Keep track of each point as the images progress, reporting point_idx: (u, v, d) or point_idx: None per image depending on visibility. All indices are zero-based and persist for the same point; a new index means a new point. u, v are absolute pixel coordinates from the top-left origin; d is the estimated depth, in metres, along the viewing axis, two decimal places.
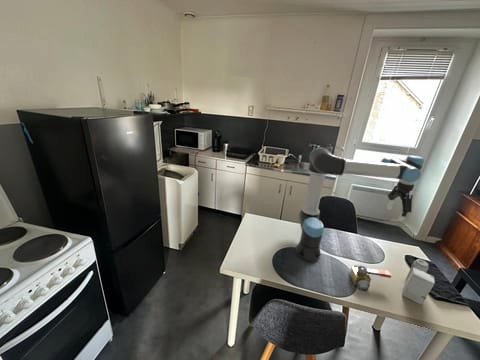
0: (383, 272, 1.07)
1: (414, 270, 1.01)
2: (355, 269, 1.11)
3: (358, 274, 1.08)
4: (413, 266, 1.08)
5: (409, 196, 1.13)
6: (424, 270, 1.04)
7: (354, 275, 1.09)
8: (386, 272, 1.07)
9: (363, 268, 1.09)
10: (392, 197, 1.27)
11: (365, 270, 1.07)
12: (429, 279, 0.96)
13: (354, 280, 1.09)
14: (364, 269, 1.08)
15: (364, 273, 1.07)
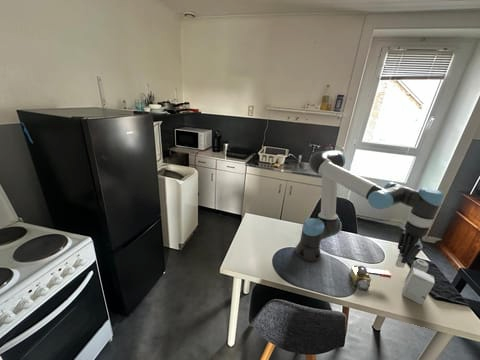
0: (383, 272, 1.07)
1: (414, 270, 1.01)
2: (355, 269, 1.11)
3: (358, 274, 1.08)
4: (413, 266, 1.08)
5: (419, 248, 0.84)
6: (424, 270, 1.04)
7: (354, 275, 1.09)
8: (386, 272, 1.07)
9: (363, 268, 1.09)
10: (403, 247, 0.92)
11: (365, 270, 1.07)
12: (429, 279, 0.96)
13: (354, 280, 1.09)
14: (364, 269, 1.08)
15: (364, 273, 1.07)
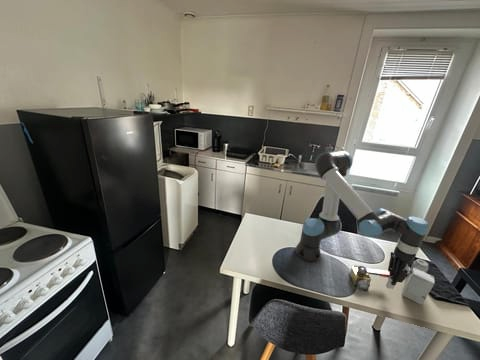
0: (383, 272, 1.07)
1: (414, 270, 1.01)
2: (355, 269, 1.11)
3: (358, 274, 1.08)
4: (413, 266, 1.08)
5: (407, 273, 0.89)
6: (424, 270, 1.04)
7: (354, 275, 1.09)
8: (386, 272, 1.07)
9: (363, 268, 1.09)
10: (393, 271, 0.98)
11: (365, 270, 1.07)
12: (429, 279, 0.96)
13: (354, 280, 1.09)
14: (364, 269, 1.08)
15: (364, 273, 1.07)
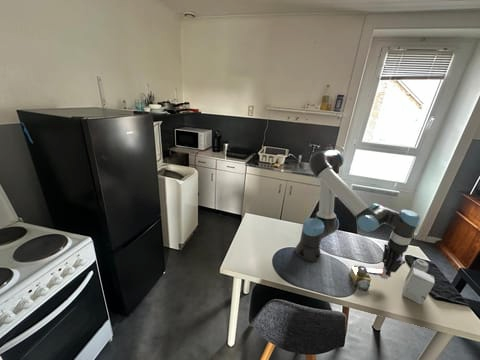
0: None
1: (414, 270, 1.01)
2: (355, 269, 1.11)
3: (358, 274, 1.08)
4: (413, 266, 1.08)
5: (400, 263, 0.95)
6: (424, 270, 1.04)
7: (354, 275, 1.09)
8: None
9: (363, 268, 1.09)
10: (387, 262, 1.03)
11: (365, 270, 1.07)
12: (429, 279, 0.96)
13: (354, 280, 1.09)
14: (364, 269, 1.08)
15: (364, 273, 1.07)
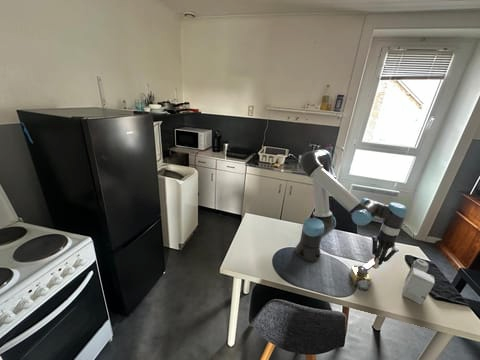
0: (373, 262, 1.13)
1: (414, 270, 1.01)
2: (355, 269, 1.11)
3: (358, 274, 1.08)
4: (413, 266, 1.08)
5: (395, 252, 1.01)
6: (424, 270, 1.04)
7: (354, 275, 1.09)
8: None
9: (362, 268, 1.09)
10: (378, 253, 1.09)
11: (365, 269, 1.08)
12: (429, 279, 0.96)
13: (354, 280, 1.09)
14: (364, 268, 1.08)
15: (366, 272, 1.07)
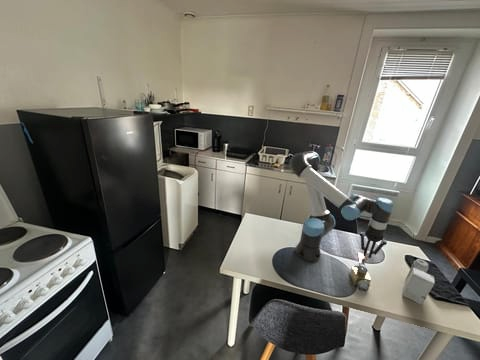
0: (361, 257, 1.17)
1: (414, 270, 1.01)
2: (355, 269, 1.11)
3: (358, 274, 1.08)
4: (413, 266, 1.08)
5: None
6: (424, 270, 1.04)
7: (354, 275, 1.09)
8: (361, 255, 1.18)
9: (362, 268, 1.09)
10: None
11: (364, 268, 1.09)
12: (429, 279, 0.96)
13: (354, 280, 1.09)
14: (363, 268, 1.09)
15: None
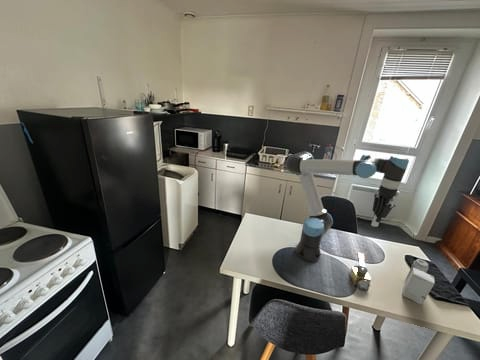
0: (361, 257, 1.17)
1: (414, 270, 1.01)
2: (355, 269, 1.11)
3: (358, 274, 1.08)
4: (413, 266, 1.08)
5: (390, 206, 1.00)
6: (424, 270, 1.04)
7: (354, 275, 1.09)
8: (361, 255, 1.18)
9: (362, 268, 1.09)
10: (377, 209, 1.08)
11: (364, 268, 1.09)
12: (429, 279, 0.96)
13: (354, 280, 1.09)
14: (363, 268, 1.09)
15: None
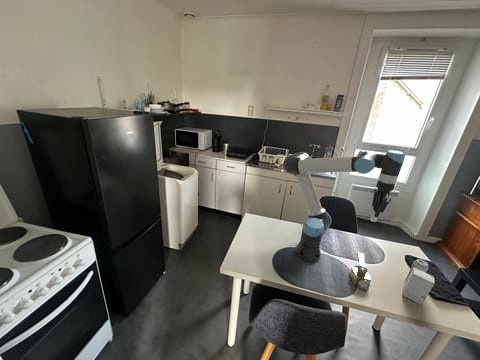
0: (361, 257, 1.17)
1: (414, 270, 1.01)
2: (355, 269, 1.11)
3: (358, 274, 1.08)
4: (413, 266, 1.08)
5: (386, 200, 1.01)
6: (424, 270, 1.04)
7: (354, 275, 1.09)
8: (361, 255, 1.18)
9: (362, 268, 1.09)
10: (376, 204, 1.09)
11: (364, 268, 1.09)
12: (429, 279, 0.96)
13: (354, 280, 1.09)
14: (363, 268, 1.09)
15: None
